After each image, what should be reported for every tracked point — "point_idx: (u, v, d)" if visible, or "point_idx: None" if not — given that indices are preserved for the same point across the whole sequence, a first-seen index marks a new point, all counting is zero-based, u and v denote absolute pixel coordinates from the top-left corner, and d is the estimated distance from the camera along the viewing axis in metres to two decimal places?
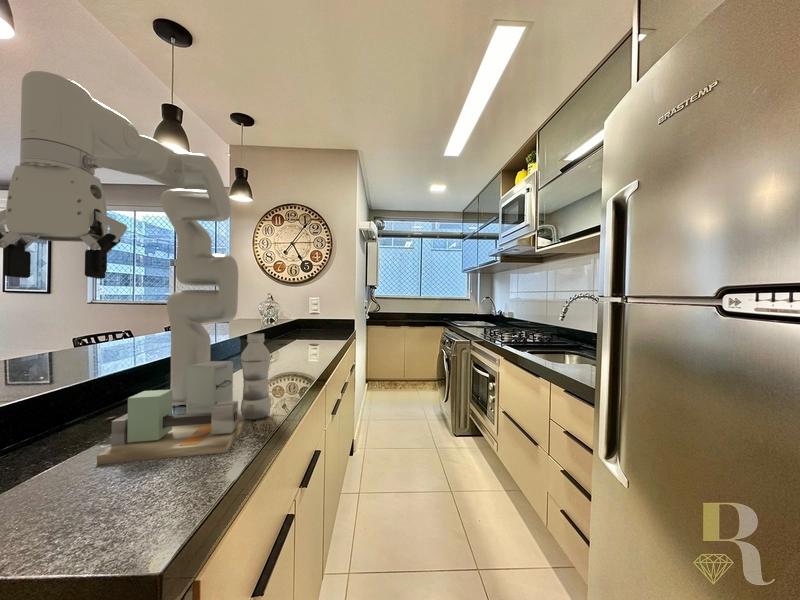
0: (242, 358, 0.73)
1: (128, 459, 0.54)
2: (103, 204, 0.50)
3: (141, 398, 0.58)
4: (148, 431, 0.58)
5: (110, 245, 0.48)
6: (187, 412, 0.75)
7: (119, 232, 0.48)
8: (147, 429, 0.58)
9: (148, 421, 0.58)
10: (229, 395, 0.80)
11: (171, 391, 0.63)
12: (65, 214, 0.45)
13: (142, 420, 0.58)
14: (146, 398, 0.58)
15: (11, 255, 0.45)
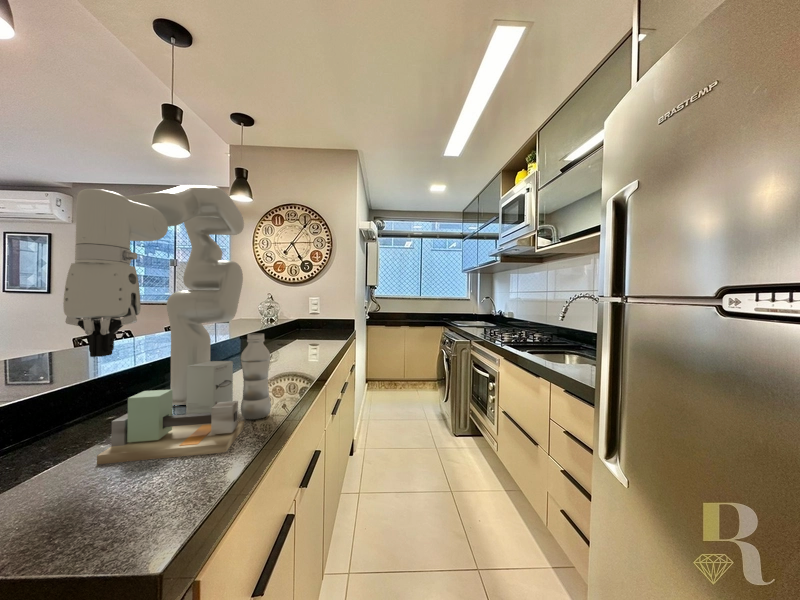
0: (242, 358, 0.73)
1: (128, 459, 0.54)
2: (137, 287, 0.61)
3: (141, 398, 0.58)
4: (148, 431, 0.58)
5: (117, 328, 0.59)
6: (187, 412, 0.75)
7: (126, 324, 0.59)
8: (147, 429, 0.58)
9: (148, 421, 0.58)
10: (229, 395, 0.80)
11: (171, 391, 0.63)
12: (109, 300, 0.57)
13: (142, 420, 0.58)
14: (146, 398, 0.58)
15: (95, 340, 0.57)
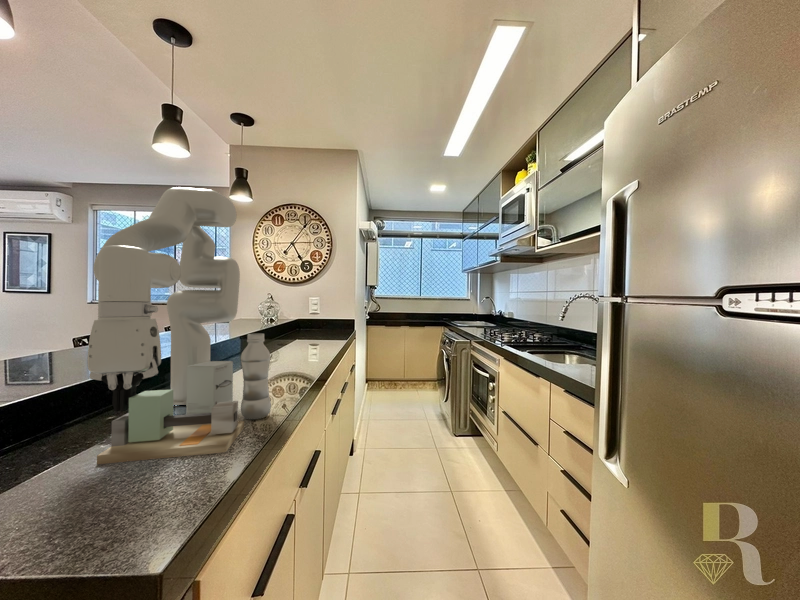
0: (242, 358, 0.73)
1: (128, 459, 0.54)
2: (158, 339, 0.62)
3: (142, 398, 0.58)
4: (149, 431, 0.58)
5: (139, 381, 0.60)
6: (187, 412, 0.75)
7: None
8: (148, 429, 0.58)
9: (149, 421, 0.58)
10: (229, 395, 0.80)
11: (172, 391, 0.63)
12: (132, 356, 0.58)
13: (143, 420, 0.58)
14: (147, 398, 0.58)
15: (118, 395, 0.58)
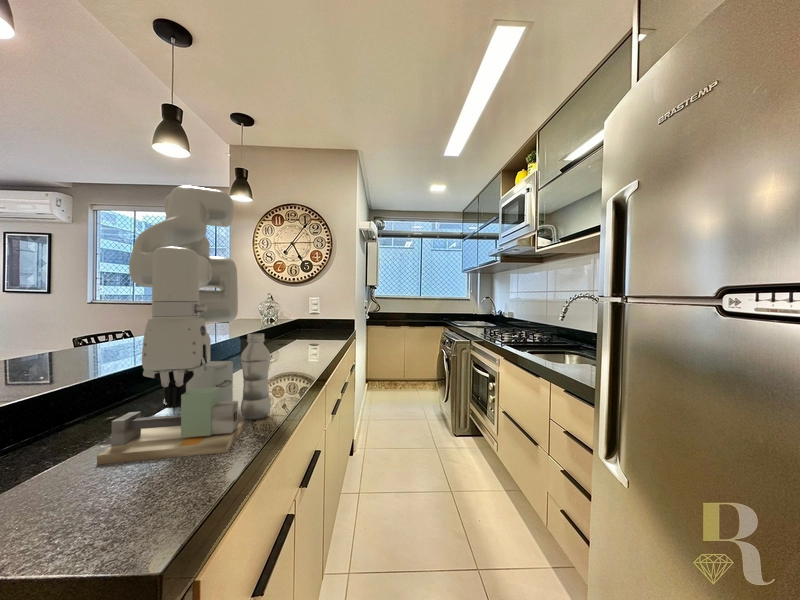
0: (242, 358, 0.73)
1: (128, 459, 0.54)
2: (206, 337, 0.64)
3: (194, 395, 0.60)
4: (200, 427, 0.60)
5: (189, 379, 0.62)
6: None
7: (198, 374, 0.62)
8: (199, 425, 0.60)
9: (200, 417, 0.60)
10: (229, 395, 0.80)
11: (219, 388, 0.65)
12: (184, 354, 0.60)
13: (195, 416, 0.59)
14: (198, 395, 0.60)
15: (171, 392, 0.60)
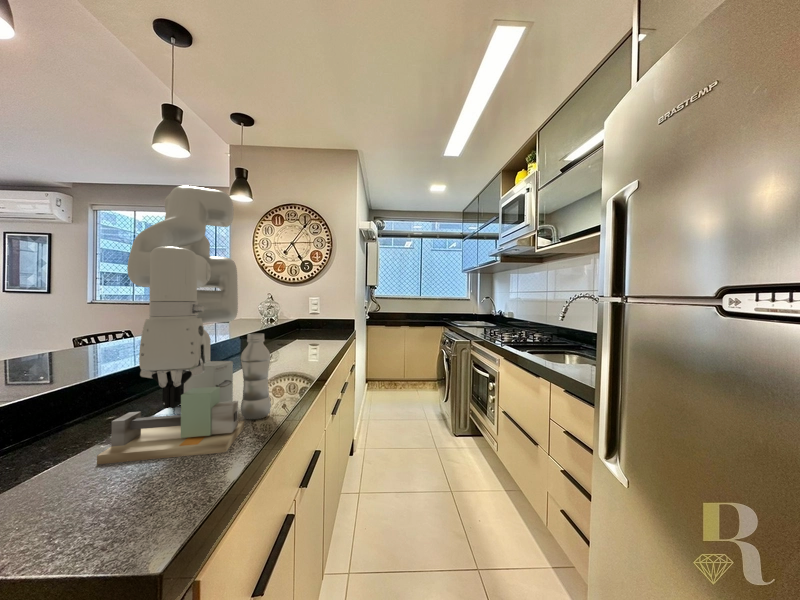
0: (242, 358, 0.73)
1: (128, 459, 0.54)
2: (204, 337, 0.64)
3: (193, 395, 0.60)
4: (200, 427, 0.60)
5: (187, 379, 0.62)
6: None
7: (196, 374, 0.62)
8: (199, 425, 0.60)
9: (200, 417, 0.60)
10: (228, 395, 0.80)
11: (218, 388, 0.65)
12: (182, 354, 0.59)
13: (194, 416, 0.59)
14: (198, 395, 0.60)
15: (169, 392, 0.60)
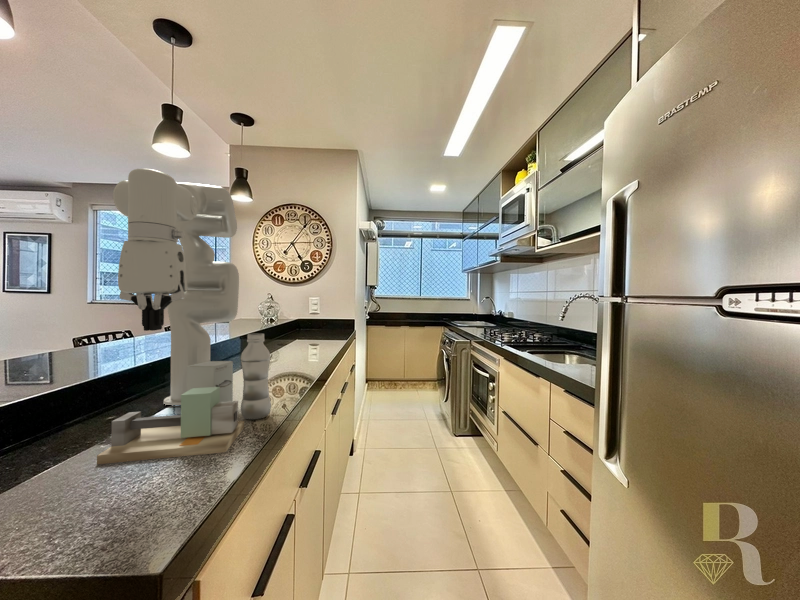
0: (242, 358, 0.73)
1: (128, 459, 0.54)
2: (184, 265, 0.64)
3: (193, 395, 0.60)
4: (200, 427, 0.60)
5: (167, 304, 0.62)
6: None
7: (175, 300, 0.62)
8: (199, 425, 0.60)
9: (200, 417, 0.60)
10: (229, 395, 0.80)
11: (218, 388, 0.65)
12: (161, 277, 0.60)
13: (194, 416, 0.59)
14: (198, 395, 0.60)
15: (148, 315, 0.60)
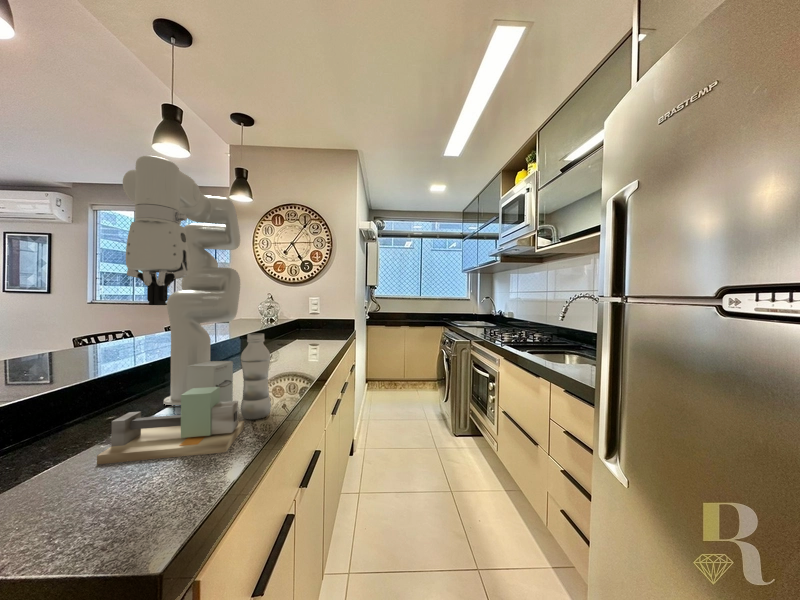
0: (242, 358, 0.73)
1: (128, 459, 0.54)
2: (187, 245, 0.69)
3: (193, 395, 0.60)
4: (200, 427, 0.60)
5: (170, 281, 0.67)
6: None
7: (178, 277, 0.67)
8: (199, 425, 0.60)
9: (200, 417, 0.60)
10: (229, 395, 0.80)
11: (218, 388, 0.65)
12: (165, 255, 0.65)
13: (194, 416, 0.59)
14: (198, 395, 0.60)
15: (153, 290, 0.65)
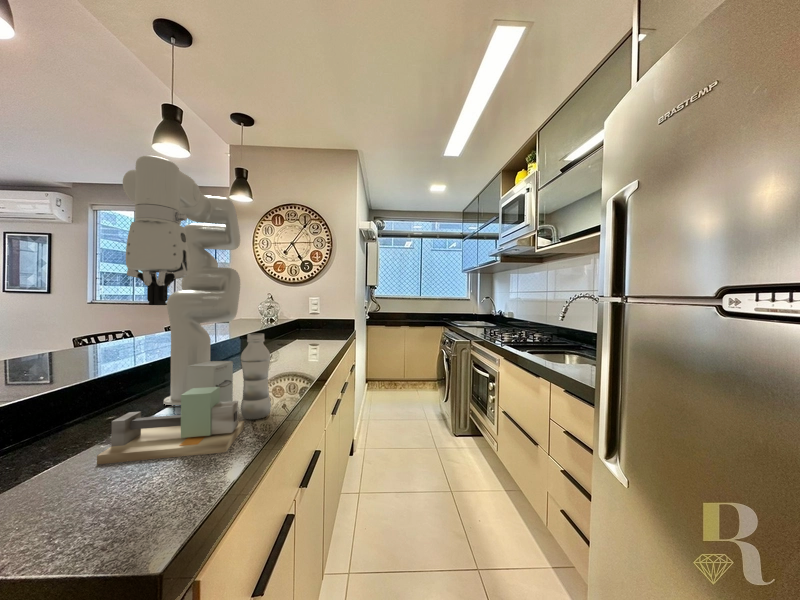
0: (242, 358, 0.73)
1: (128, 459, 0.54)
2: (187, 245, 0.69)
3: (193, 395, 0.60)
4: (200, 427, 0.60)
5: (170, 281, 0.67)
6: None
7: (178, 277, 0.67)
8: (199, 425, 0.60)
9: (200, 417, 0.60)
10: (228, 395, 0.80)
11: (218, 388, 0.65)
12: (165, 255, 0.65)
13: (194, 416, 0.59)
14: (198, 395, 0.60)
15: (153, 290, 0.65)
